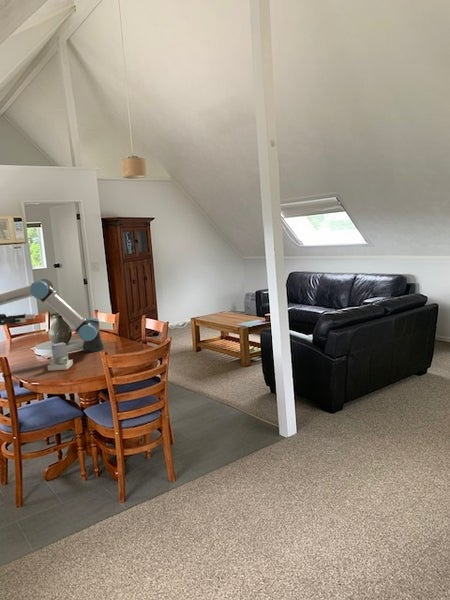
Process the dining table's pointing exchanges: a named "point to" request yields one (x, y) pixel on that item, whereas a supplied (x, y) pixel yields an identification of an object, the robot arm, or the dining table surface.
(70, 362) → the tower base slab
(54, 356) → the medicine box
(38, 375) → the dining table surface
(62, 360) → the tower top slab
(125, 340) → the dining table surface
